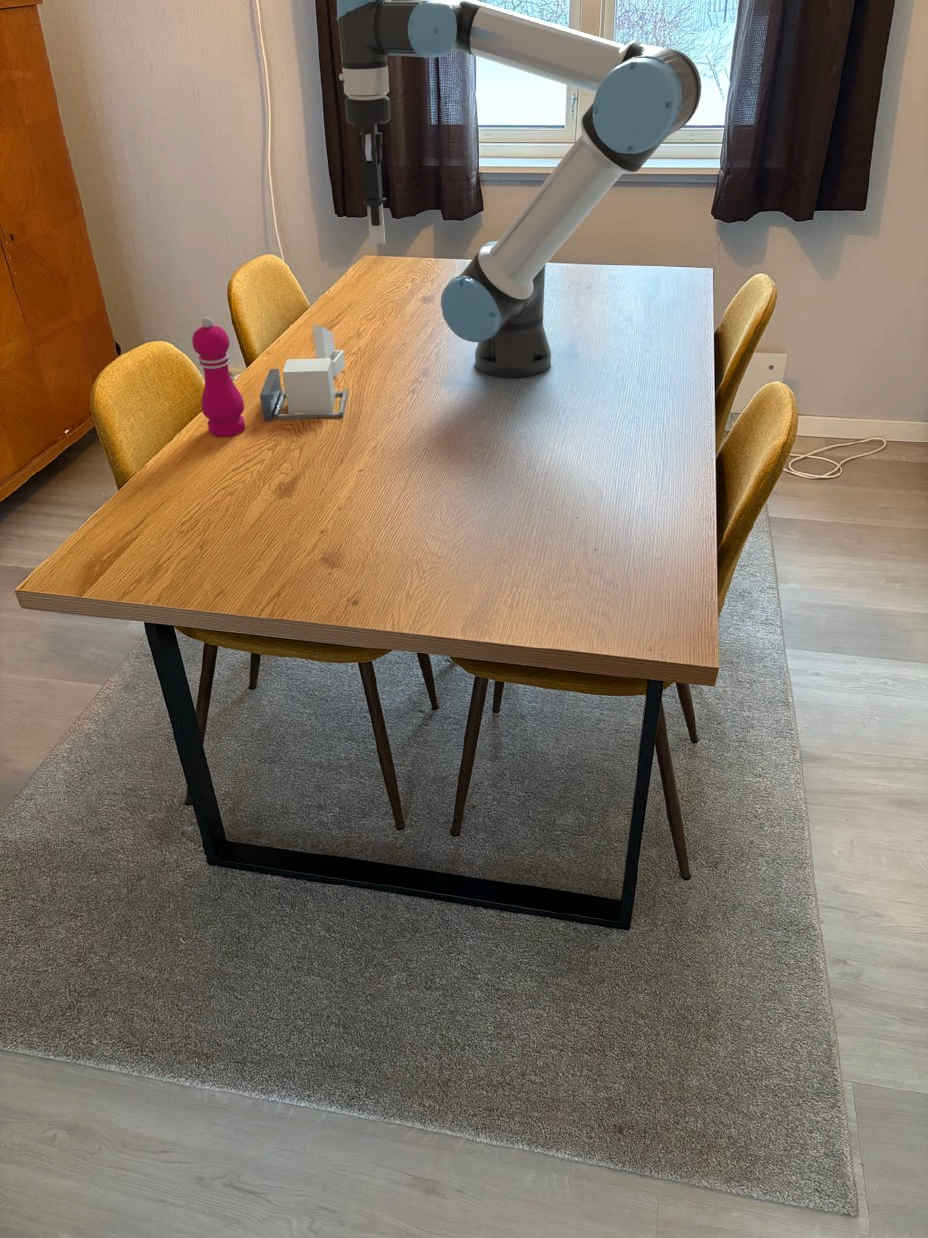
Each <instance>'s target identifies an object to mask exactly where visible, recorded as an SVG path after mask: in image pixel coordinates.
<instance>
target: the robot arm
mask: <svg viewBox="0 0 928 1238" xmlns="http://www.w3.org/2000/svg"><path fill="white" fill-rule="evenodd" d="M336 12H337V13H336V15H337V16H336V22H337V30H338V37H339V46H340V55H341V69H342V71H341V72H342V73H340V74H339V75H338V78H339V80H340V81H343V93H344V95H346V96H347V97H346V98H345V100H344V108H345V109H344V110H345V119H346V122H347V123H348V124H350V125H354V126H357V125H358V126H360V127H361V128H360V133H358V136H357V146H358V148H359V153H360V156H359V157H360V163H361V165H362V174H363V184H364V193H365V201H363V203H362V206H363V207H366V210H367V212H366V213H367V222H368V233H369V235H368V236H369V244H370V245H376V244H377V245H382V244H383V245H385V244H386V234H385V233H386V232H385V219H384V215H385V214H384V205H383V203H387V197H383V194H384V191H383V186H382V185H383V184H382V167H381V165H382V164H381V162H382V157H383V155H382V153H383V152H382V144H383V134H382V132H378V125H383V124H387V123H389V121H391V105H390V104H391V102H390V98H389V97H388V96H387V94H388V93H389V92H390V83H389V66H388V56H389V57H391V56H398V57H399V56H400V57H416V58H424V59H431V58H444V57H446V56H448V55H450V53H451V51H452V50H455V51H459V52H462V53H464V54H467V55H471V56H476V57H478V58H481V59H485V60H488V61H491V62H494V63H497V64H500V65H503V66H506V67H509V68H512V69H515V70H516V69H517V70H519V71H523V72H526V73H528V74H532V75H534V76H538V77H540V78H545V79H547V80H551V81H554V82H556V83H560V84H563V85H567V86H569V87H571V88H572V87H573V88H575V89H579V90H582V91H585V92H588V93H590V94H591V93H592V94H594V98H593V102H592V104H591V105H590V106H589V107H588V108H587V111H585V113H584V114H583V115H582V116H581V119H580V126H581V134H580V136H579V137H578V138H577V140H576V141H575V142H574V144H573V145H572V146H571V147H570V148H569V150H568V151H567V152H566V154H565V155H564V157H563V158H562V159H561V160H560V161H559V163H558V164H557V165H556V166H555V168H554V169H553V170H552V172H550V174H549V176H548V177H547V178H546V179H545V181H544V182H543V183H542V185H541V186H540V187H539V188H538V190H537V191H536V192H535V194H534V195H533V196H532V197H531V199H530V200H529V201H528V202H527V204H526V205H525V206H524V207H523V209H522V210H521V212H520V213H519V214H518V215H517V217H516V218H515V219H514V220H513V222H512V223H511V224H510V225H509V227H508V228H507V229H506V230H505V232H504V233H503V235H502V236H501V237H500V238H499V239H498V240H496V241H495V240H493V241H489V242H486V243H485V244H484V245H483V246H482V247H481V248H480V249H479V251H478V252H477V253H476V254H475V255H474V257H473V258H472V260H471V261H470V262H469V264H468V265H467V266H466V267H465V269H463V271H462V272H461V273H460V274H459V275H457V276H455V277H453V278H452V279H450V281H449V282H448V283H447V285H445V287H444V288H443V290H442V293H441V296H440V308H441V311H442V313H441V314H442V318H443V319H444V321H445V323H446V325H447V327H448V328H449V329H450V330H451V331H452V332H453V333H454V335H456V336H457V337H459V338H460V339H461V340H464V341H466V342H471V343H477V346H476V348H475V351H474V364H475V367H476V369H477V370H479V371H481V372H482V373H485V374H486V375H491V376H494V377H499V378H525V377H531V376H535V375H539V374H541V373H543V372H545V371H546V370H548V369H549V368H550V367H551V364H552V362H551V361H552V349H551V346H550V344H549V339H548V337H547V333H546V330H545V327H544V309H545V308H544V304H545V302H544V301H545V279H546V276H545V275H546V267H547V264H548V262H550V260H551V258H552V257H553V256H554V255H555V254H556V253H557V251H558V250H559V249H561V247H562V246H563V245H564V243H565V242H566V241H567V239H569V238H570V236H571V235H572V234H573V233H574V231H575V230H576V229H577V228H578V227H579V225H580V224H581V223H582V222H583V221H584V220H585V219H586V217H587V216H588V215H589V214H590V212H591V211H592V210H593V209H594V208H595V207H596V205H597V204H598V203H599V202H600V201H601V200H602V198H603V197H604V196H605V195H606V194H607V193H608V192H609V190H611V188H612V187H613V186H614V184H615V183H616V182H617V181H618V180H619V178H620V177H621V176H622V175H625V174H637V172H638V171H639V170H640V169H641V168H642V167H643V166H644V165H645V164H646V162H647V161H648V160H649V159H650V158H651V157H652V155H653V154H654V153H655V152H656V151H657V150H658V149H659V147H660V146H661V144H663V142H665V141H666V139H667V138H668V137H669V136H671V135H672V134H674V133H676V132H677V131H680V130H681V129H682V128H684V127H685V126H686V125H687V123H689V122H690V121H691V120H692V118H693V116H694V115H695V114H696V111H697V109H698V107H699V103H700V100H701V95H702V79H701V76H700V72H699V69H698V67H697V65H696V64H695V63H694V62H693V60H692V59H691V58H690V57H689V56H688V55H686V54H685V53H684V52H681V51H679V50H677V49H673V48H668V47H664V46H659V45H652V44H649V43H645V42H641V41H638V40H635V39H634V40H631V41H630V42H629V43H627V44H626V45H625V44H621V43H618V42H615V41H611V40H608V39H605V38H602V37H598V36H594V35H591V34H588V33H585V32H581V31H578V30H576V29H572V28H571V29H570V28H568V27H564V26H561V25H559V24H554V23H550V22H547V21H545V20H541V19H538V18H534V17H532V16H531V17H530V16H528V15H524V14H520V13H517V12H515V11H511V10H507V9H504V8H501V7H498V6H494V5H491V4H488V3H483V2H480V0H336Z"/></svg>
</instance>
